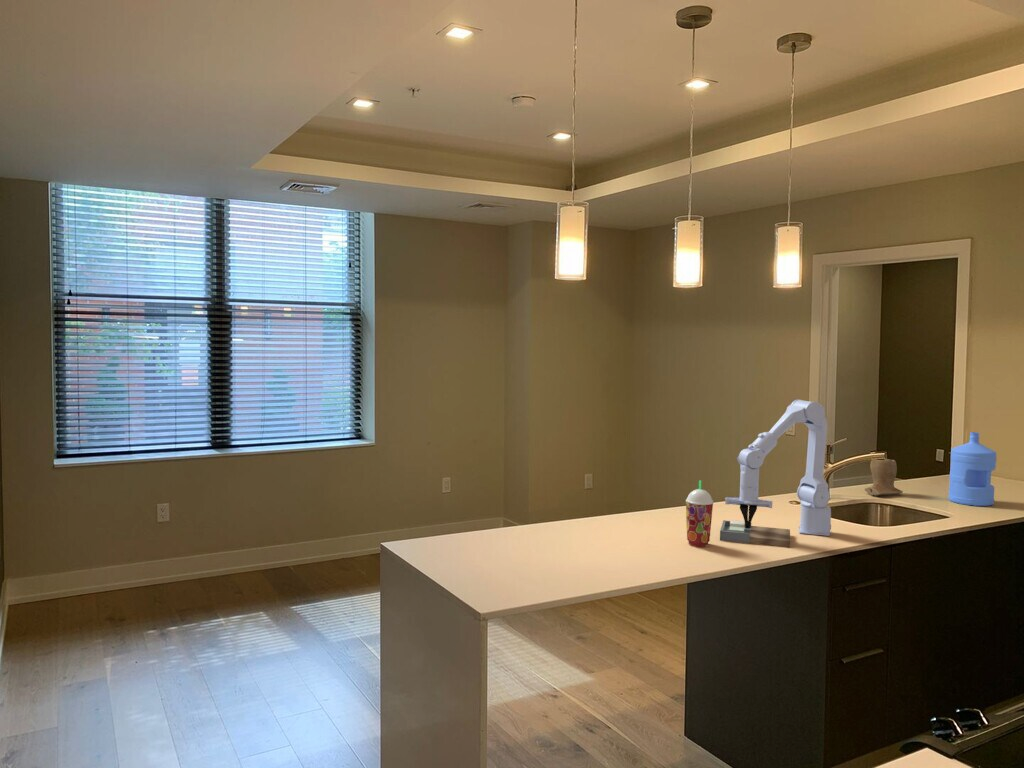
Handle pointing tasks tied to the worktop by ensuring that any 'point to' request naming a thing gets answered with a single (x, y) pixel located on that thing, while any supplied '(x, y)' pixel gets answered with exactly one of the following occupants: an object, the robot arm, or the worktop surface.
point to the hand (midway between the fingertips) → (747, 527)
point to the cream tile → (737, 524)
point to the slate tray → (734, 534)
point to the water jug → (972, 473)
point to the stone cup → (883, 478)
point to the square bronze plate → (770, 536)
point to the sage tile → (736, 529)
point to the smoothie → (699, 517)
